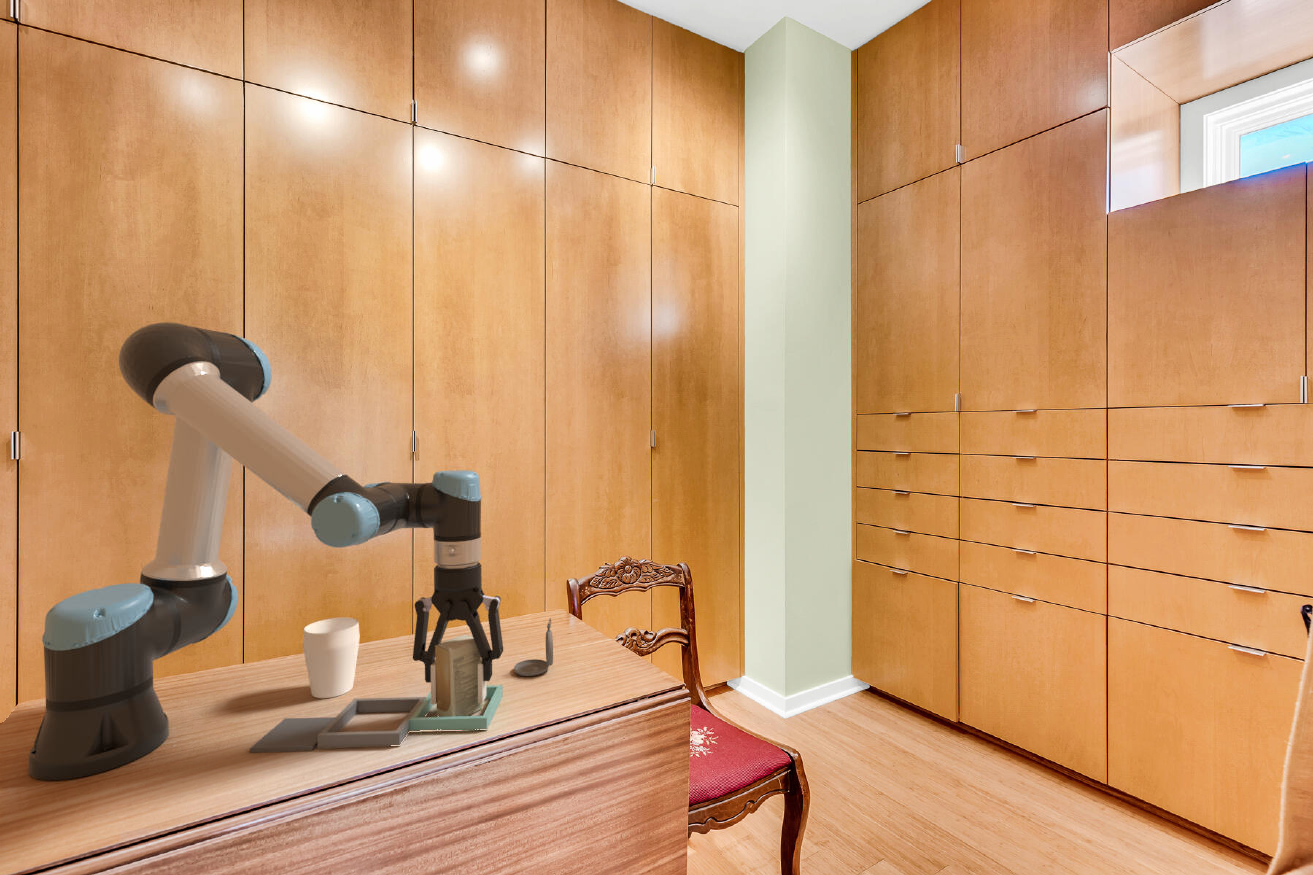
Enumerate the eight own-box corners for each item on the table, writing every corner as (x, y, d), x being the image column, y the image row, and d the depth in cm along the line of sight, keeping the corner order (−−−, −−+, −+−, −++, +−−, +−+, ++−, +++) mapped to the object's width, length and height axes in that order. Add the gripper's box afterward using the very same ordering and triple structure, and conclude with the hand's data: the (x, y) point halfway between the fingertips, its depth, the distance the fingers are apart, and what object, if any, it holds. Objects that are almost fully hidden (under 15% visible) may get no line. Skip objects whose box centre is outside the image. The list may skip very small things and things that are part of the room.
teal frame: (409, 732, 93) (409, 719, 93) (434, 697, 105) (434, 686, 105) (486, 730, 94) (486, 717, 94) (502, 696, 106) (502, 684, 105)
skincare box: (467, 702, 103) (466, 632, 103) (483, 709, 101) (482, 637, 100) (434, 717, 98) (433, 643, 98) (450, 724, 95) (449, 649, 95)
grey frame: (317, 748, 88) (317, 735, 88) (354, 710, 100) (354, 698, 100) (399, 746, 89) (399, 733, 89) (426, 708, 101) (426, 696, 101)
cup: (336, 704, 103) (335, 635, 102) (291, 699, 104) (290, 631, 104) (371, 682, 111) (370, 618, 111) (329, 678, 113) (328, 615, 113)
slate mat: (249, 752, 87) (249, 748, 87) (284, 722, 96) (284, 718, 96) (312, 750, 88) (312, 746, 88) (341, 720, 97) (341, 716, 97)
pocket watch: (507, 671, 116) (507, 620, 116) (542, 658, 123) (542, 610, 122) (531, 683, 111) (531, 630, 111) (567, 669, 117) (567, 619, 117)
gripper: (388, 569, 95) (389, 712, 95) (513, 567, 96) (514, 709, 96) (405, 559, 102) (407, 691, 102) (522, 557, 103) (523, 688, 103)
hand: (459, 699), depth 99 cm, fingers closed on skincare box, 7 cm apart
